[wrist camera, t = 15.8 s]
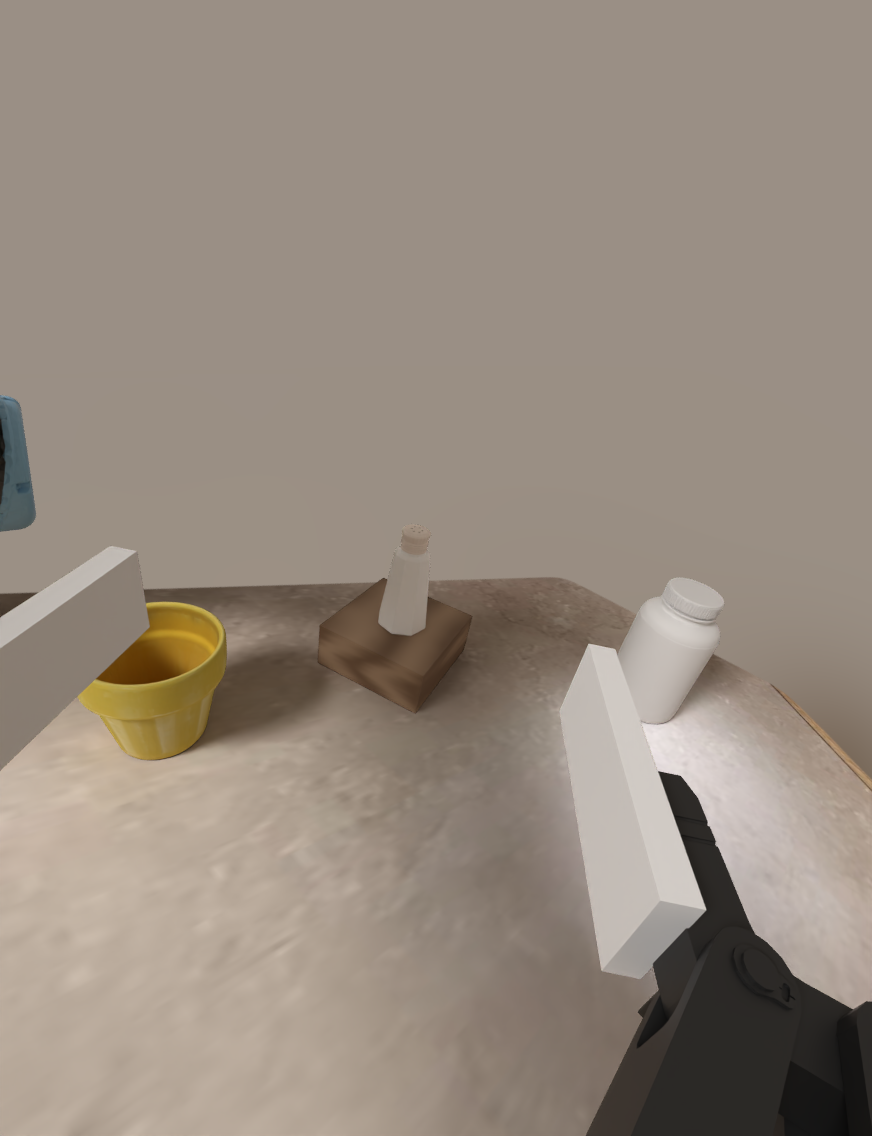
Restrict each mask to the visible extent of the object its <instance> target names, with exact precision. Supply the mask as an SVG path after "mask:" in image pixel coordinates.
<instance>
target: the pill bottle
mask: <svg viewBox="0 0 872 1136" xmlns="http://www.w3.org/2000/svg"><path fill="white" fill-rule="evenodd" d="M723 607H724V600H723V598H722V597H721V596H720V595H719V594H718V593H717V592H716V591H715V590H713V589H712V588H710V587H709V586H707V585H705V584H703V583H700V582H698V581H695V580H691V579H687V578H674V579H672V580H670V581H669V582H668V584H667V586H666V588H665V590H664V592H663V594H662V596H659V597H654V598H651V599H649V600H648V601H646V602H645V603H644V604H643V605H642V606H641V607H640V609H639V611H638V613H637V615H636V617H635V619H634V621H633V623H632V625H631V627H630V630H629V632H628V634H627V636H626V638H625V640H624V642H623V644H622V646H621V648H620V650H619V652H618V654H617V656H618V659H619V662H620V665H621V667H622V670H623V673H624V676H625V679H626V682H627V685H628V687H629V690H630V693H631V696H632V699H633V702H634V705H635V707H636V710H637V713H638V716H639V719H640V721H642V722H645V723H650V724H661V723H665V722H667V721H669V720H670V719H671V718H672V717H673V716H674V715H675V713H676V712H677V710H678V709H679V707H680V706H681V704H682V702H683V701H684V699H685V698H686V696H687V694H688V693H689V691H690V690H691V688H692V686H693V685H694V683H695V682H696V680H697V678H698V677H699V675H700V674H701V672H702V670H703V669H704V667H705V666H706V664H707V662H708V661H709V659H710V658H711V656H712V654H713V653H714V651H715V650H716V648H717V646H718V644H719V642H720V629H719V627H718V625H717V623H716V622H715V620H716V618H717V617H718V615H719V614H720V612H721V610H722V609H723Z"/></svg>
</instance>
